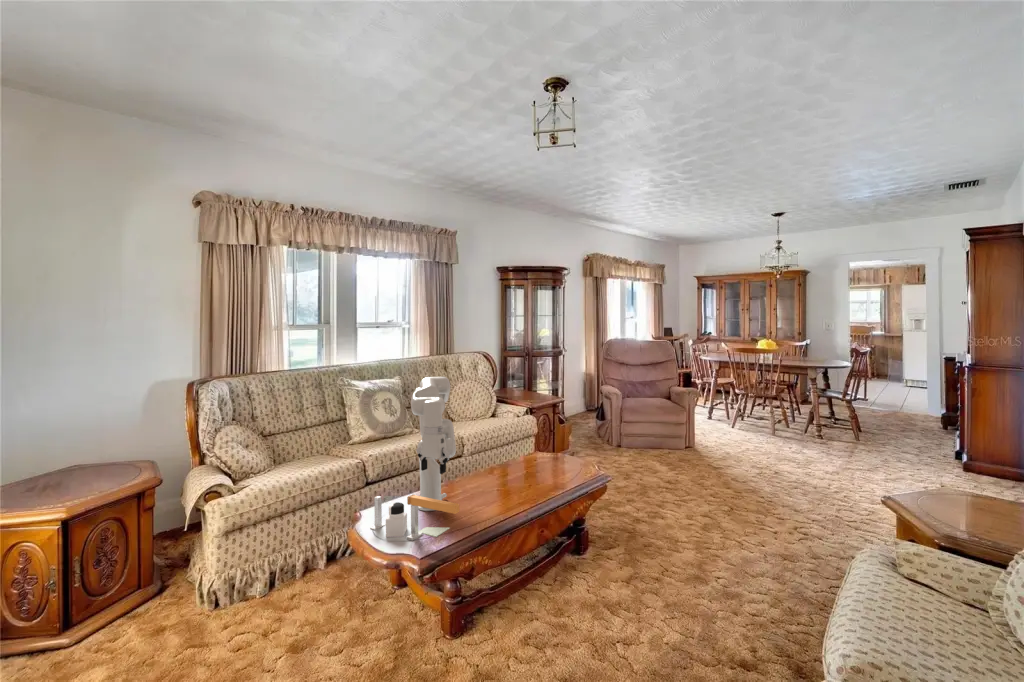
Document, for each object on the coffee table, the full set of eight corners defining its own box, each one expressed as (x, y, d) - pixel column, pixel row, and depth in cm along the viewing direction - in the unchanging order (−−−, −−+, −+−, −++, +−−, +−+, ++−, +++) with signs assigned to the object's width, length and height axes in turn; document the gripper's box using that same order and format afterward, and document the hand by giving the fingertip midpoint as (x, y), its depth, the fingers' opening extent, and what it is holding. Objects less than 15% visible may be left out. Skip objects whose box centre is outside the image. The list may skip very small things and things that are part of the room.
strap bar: (412, 501, 187) (412, 494, 187) (459, 511, 176) (459, 503, 176) (407, 504, 184) (407, 496, 184) (454, 514, 173) (454, 506, 173)
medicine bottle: (407, 529, 192) (406, 500, 192) (403, 536, 185) (403, 506, 185) (390, 530, 192) (389, 501, 192) (385, 537, 185) (385, 507, 185)
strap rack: (380, 524, 198) (380, 494, 198) (422, 535, 186) (422, 502, 187) (370, 529, 193) (369, 498, 193) (412, 540, 181) (412, 507, 181)
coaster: (432, 524, 197) (432, 523, 197) (450, 529, 192) (450, 527, 192) (417, 533, 189) (417, 531, 189) (436, 537, 184) (436, 536, 184)
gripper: (455, 430, 190) (455, 471, 190) (422, 426, 198) (423, 466, 199) (444, 434, 183) (444, 477, 184) (410, 429, 192) (411, 470, 192)
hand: (433, 471), depth 191 cm, fingers open, 9 cm apart
